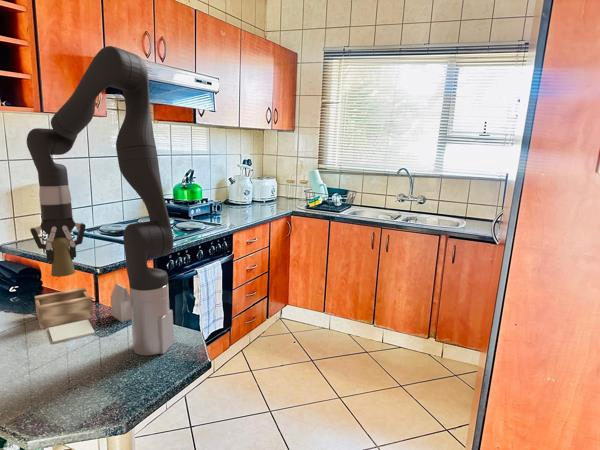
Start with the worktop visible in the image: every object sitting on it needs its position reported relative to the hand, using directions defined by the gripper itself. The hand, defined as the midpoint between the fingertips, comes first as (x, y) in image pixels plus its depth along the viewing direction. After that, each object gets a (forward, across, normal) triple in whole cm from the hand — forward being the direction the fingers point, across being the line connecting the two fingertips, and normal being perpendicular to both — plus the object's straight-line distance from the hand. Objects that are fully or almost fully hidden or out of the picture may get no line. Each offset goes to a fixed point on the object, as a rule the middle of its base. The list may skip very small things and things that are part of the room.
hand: (61, 260), depth 117 cm
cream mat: (+19, 0, +8) cm, 21 cm away
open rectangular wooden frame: (+19, 0, -4) cm, 19 cm away
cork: (+4, 0, 0) cm, 4 cm away
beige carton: (+19, -14, +6) cm, 24 cm away
